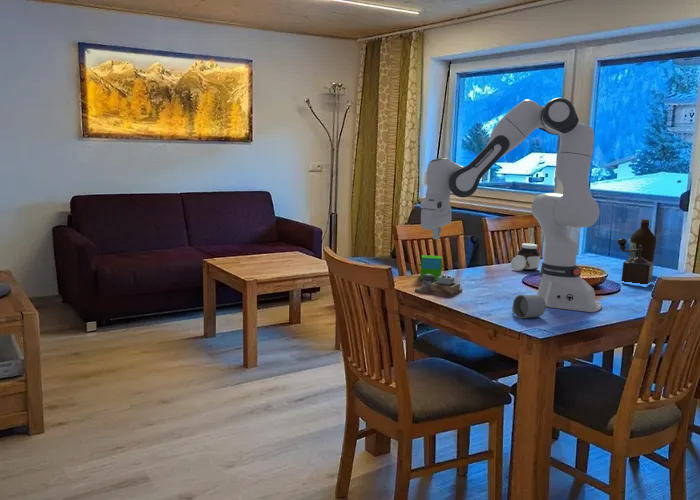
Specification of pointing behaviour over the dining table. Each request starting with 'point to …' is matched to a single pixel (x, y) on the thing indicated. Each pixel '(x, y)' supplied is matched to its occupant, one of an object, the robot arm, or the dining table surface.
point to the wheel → (428, 277)
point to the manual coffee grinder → (636, 266)
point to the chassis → (439, 289)
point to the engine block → (445, 280)
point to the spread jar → (526, 258)
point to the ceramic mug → (528, 306)
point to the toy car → (431, 265)
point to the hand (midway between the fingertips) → (436, 238)
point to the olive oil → (643, 242)
